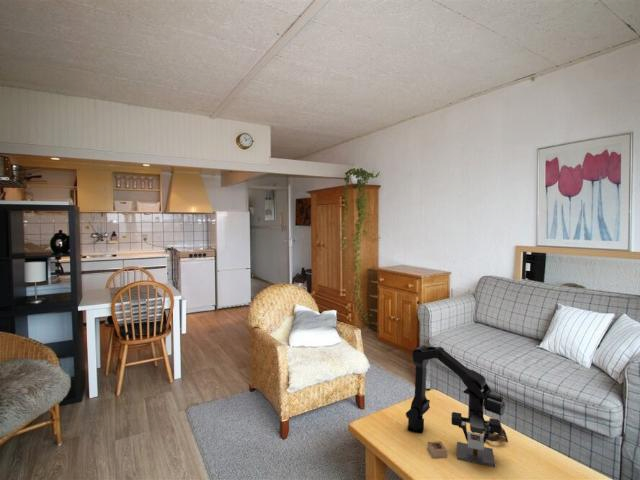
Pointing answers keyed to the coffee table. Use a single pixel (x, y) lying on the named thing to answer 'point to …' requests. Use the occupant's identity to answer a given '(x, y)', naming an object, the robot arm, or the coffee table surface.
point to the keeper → (475, 455)
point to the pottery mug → (497, 436)
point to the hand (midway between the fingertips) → (475, 441)
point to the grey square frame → (475, 441)
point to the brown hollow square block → (437, 449)
